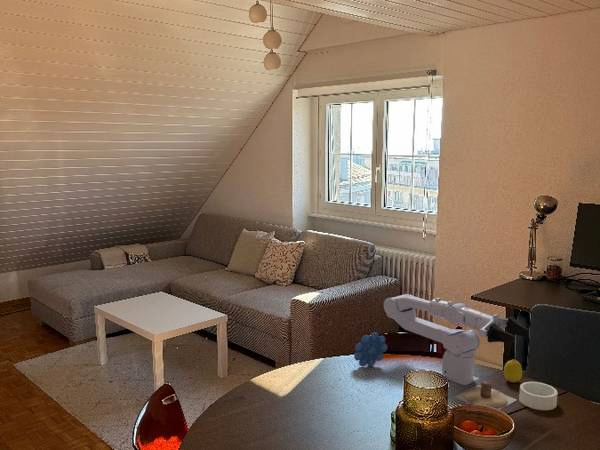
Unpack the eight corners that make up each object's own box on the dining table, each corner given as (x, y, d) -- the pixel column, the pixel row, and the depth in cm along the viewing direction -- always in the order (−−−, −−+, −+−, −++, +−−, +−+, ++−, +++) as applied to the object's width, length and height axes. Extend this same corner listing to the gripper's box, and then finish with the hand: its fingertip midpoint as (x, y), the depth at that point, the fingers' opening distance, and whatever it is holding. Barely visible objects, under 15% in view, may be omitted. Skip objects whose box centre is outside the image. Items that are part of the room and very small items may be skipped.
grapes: (382, 360, 199) (383, 327, 197) (389, 367, 192) (390, 334, 191) (350, 362, 197) (351, 329, 195) (356, 370, 190) (356, 336, 188)
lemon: (522, 387, 178) (524, 363, 177) (504, 386, 179) (505, 362, 178) (519, 380, 183) (521, 356, 182) (501, 378, 184) (503, 355, 183)
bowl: (512, 402, 168) (513, 388, 168) (529, 392, 175) (530, 378, 174) (545, 415, 161) (546, 400, 160) (562, 404, 167) (563, 390, 166)
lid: (456, 397, 170) (457, 382, 169) (478, 385, 178) (479, 371, 177) (492, 412, 161) (493, 396, 160) (514, 399, 169) (515, 384, 168)
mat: (453, 398, 170) (454, 397, 170) (478, 386, 179) (478, 384, 178) (493, 415, 161) (493, 413, 160) (517, 401, 169) (517, 399, 169)
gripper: (468, 314, 170) (508, 329, 160) (496, 304, 179) (536, 318, 169) (466, 336, 172) (506, 352, 162) (494, 325, 181) (533, 340, 170)
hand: (521, 336), depth 165 cm, fingers open, 7 cm apart
